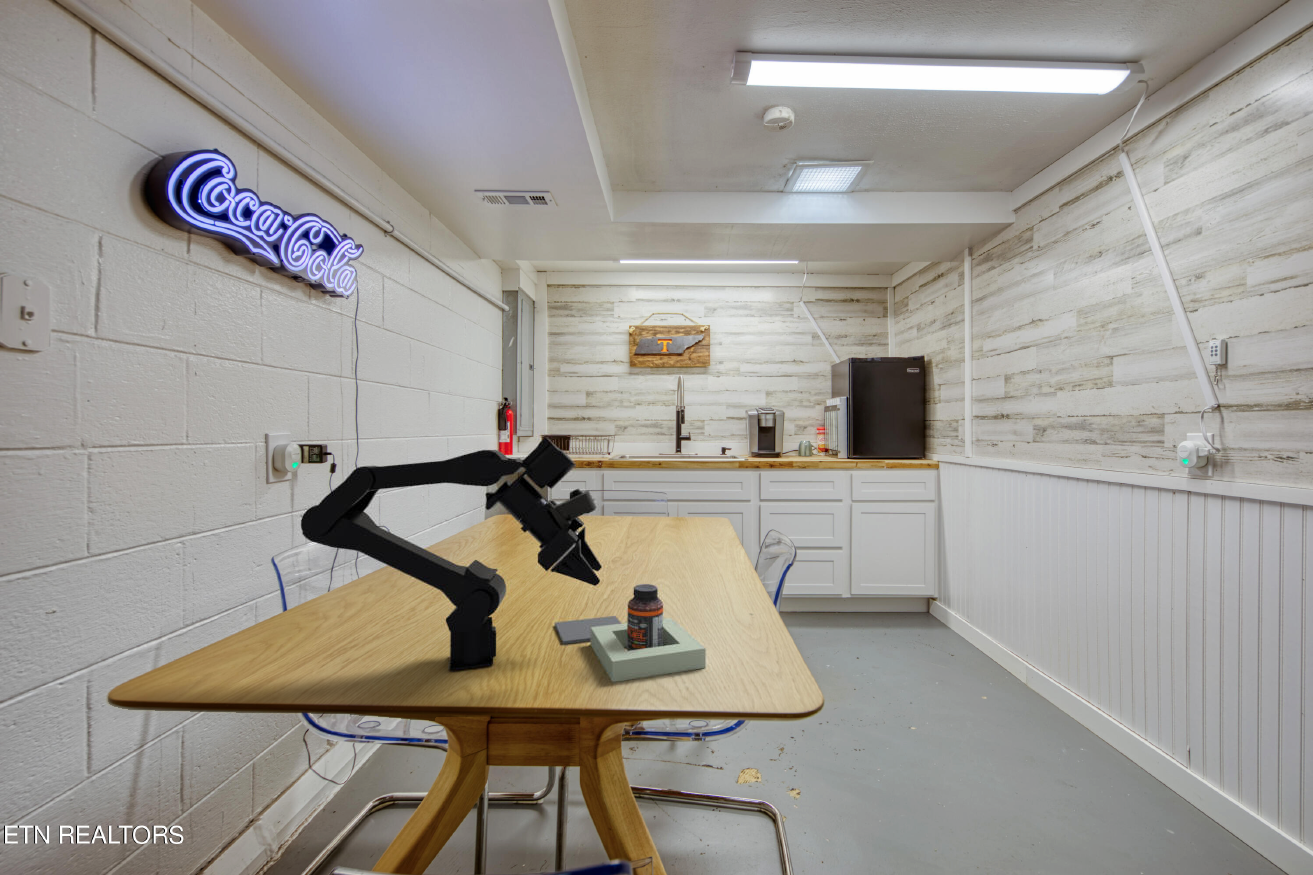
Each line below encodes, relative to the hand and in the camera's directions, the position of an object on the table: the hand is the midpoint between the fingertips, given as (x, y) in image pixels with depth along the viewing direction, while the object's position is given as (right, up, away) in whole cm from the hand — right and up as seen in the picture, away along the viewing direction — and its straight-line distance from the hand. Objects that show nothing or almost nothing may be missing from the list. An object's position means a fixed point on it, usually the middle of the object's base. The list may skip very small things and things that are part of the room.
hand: (599, 575), depth 84 cm
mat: (-3, -13, +12) cm, 18 cm away
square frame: (+8, -13, 0) cm, 15 cm away
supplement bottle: (+8, -13, 0) cm, 15 cm away
